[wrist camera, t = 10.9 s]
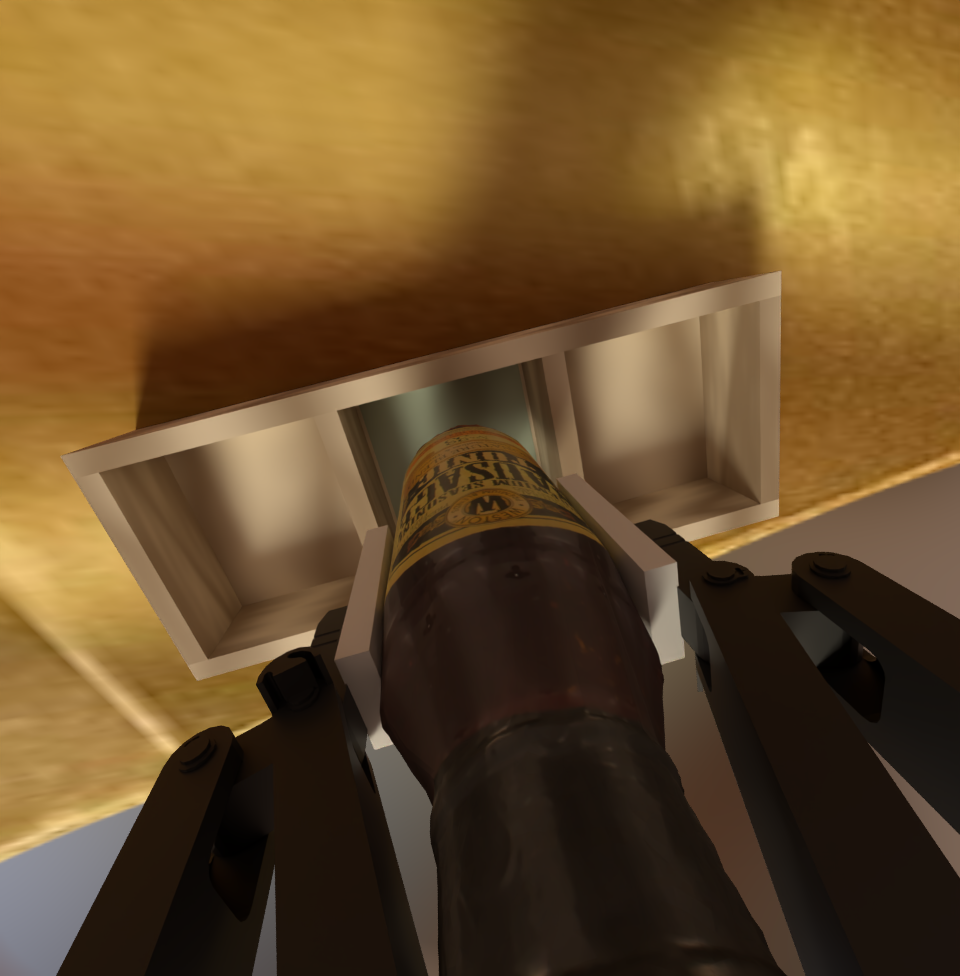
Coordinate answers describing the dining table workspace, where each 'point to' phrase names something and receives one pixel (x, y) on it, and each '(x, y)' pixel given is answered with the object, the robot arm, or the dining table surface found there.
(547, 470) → the condiment rack
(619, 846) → the sauce bottle
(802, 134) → the dining table surface
